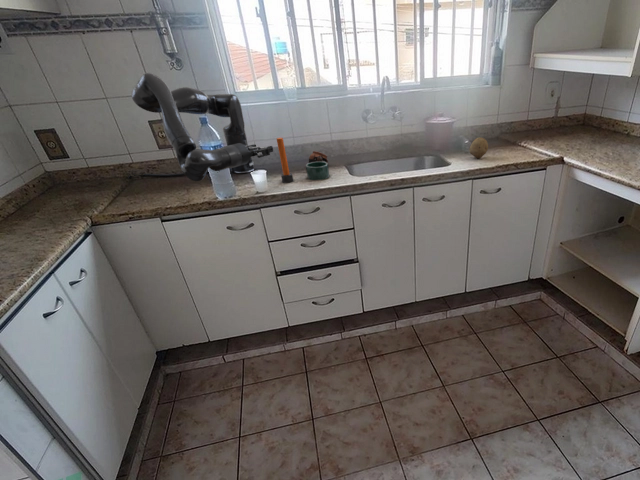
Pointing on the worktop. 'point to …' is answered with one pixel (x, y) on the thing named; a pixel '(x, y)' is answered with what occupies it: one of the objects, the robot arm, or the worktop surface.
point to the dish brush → (284, 162)
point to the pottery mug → (317, 157)
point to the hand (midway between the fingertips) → (264, 147)
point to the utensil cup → (317, 170)
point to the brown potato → (478, 147)
